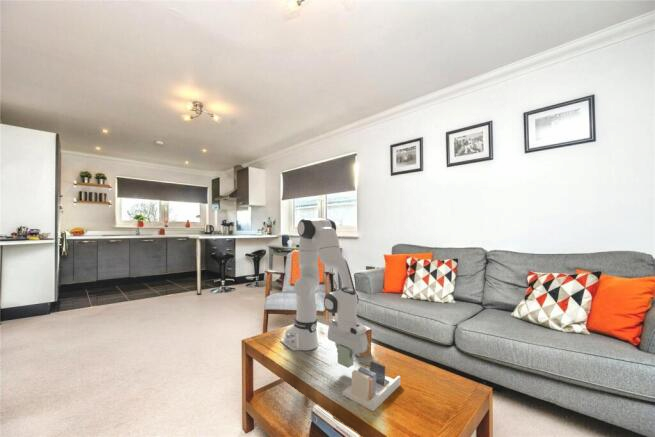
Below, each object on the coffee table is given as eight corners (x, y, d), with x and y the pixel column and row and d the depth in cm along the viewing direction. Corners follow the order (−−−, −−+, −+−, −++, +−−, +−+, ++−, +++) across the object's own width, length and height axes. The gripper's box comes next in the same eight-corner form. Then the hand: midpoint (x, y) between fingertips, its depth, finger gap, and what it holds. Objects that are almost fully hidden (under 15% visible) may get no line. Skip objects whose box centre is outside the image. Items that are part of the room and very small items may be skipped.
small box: (359, 357, 136) (360, 331, 136) (351, 352, 141) (352, 327, 142) (371, 353, 140) (372, 328, 141) (363, 348, 146) (364, 324, 146)
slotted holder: (342, 394, 105) (343, 369, 106) (371, 372, 122) (372, 350, 122) (373, 411, 96) (374, 383, 96) (400, 385, 113) (400, 361, 113)
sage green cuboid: (337, 362, 121) (338, 345, 121) (342, 359, 124) (343, 342, 124) (348, 367, 117) (348, 349, 117) (353, 364, 120) (354, 346, 120)
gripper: (325, 320, 126) (324, 350, 125) (361, 332, 112) (360, 366, 112) (333, 317, 130) (332, 345, 130) (369, 329, 117) (368, 360, 117)
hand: (345, 355), depth 121 cm, fingers closed on sage green cuboid, 6 cm apart
